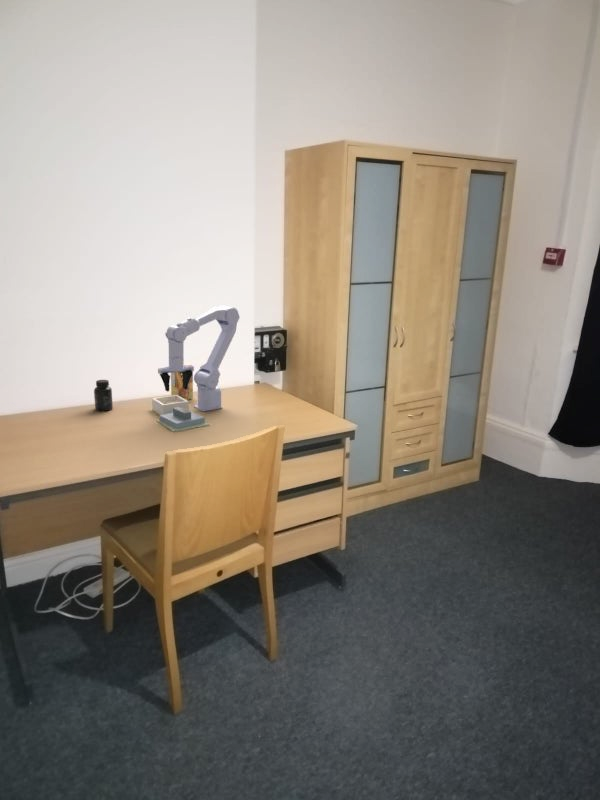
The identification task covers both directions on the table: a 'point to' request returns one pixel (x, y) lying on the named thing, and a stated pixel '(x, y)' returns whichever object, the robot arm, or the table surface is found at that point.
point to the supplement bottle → (103, 396)
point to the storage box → (168, 404)
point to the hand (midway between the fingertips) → (176, 389)
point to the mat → (184, 427)
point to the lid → (181, 418)
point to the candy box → (181, 385)
